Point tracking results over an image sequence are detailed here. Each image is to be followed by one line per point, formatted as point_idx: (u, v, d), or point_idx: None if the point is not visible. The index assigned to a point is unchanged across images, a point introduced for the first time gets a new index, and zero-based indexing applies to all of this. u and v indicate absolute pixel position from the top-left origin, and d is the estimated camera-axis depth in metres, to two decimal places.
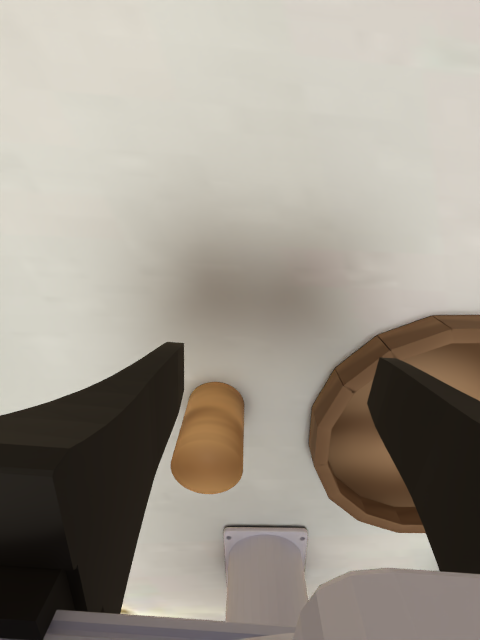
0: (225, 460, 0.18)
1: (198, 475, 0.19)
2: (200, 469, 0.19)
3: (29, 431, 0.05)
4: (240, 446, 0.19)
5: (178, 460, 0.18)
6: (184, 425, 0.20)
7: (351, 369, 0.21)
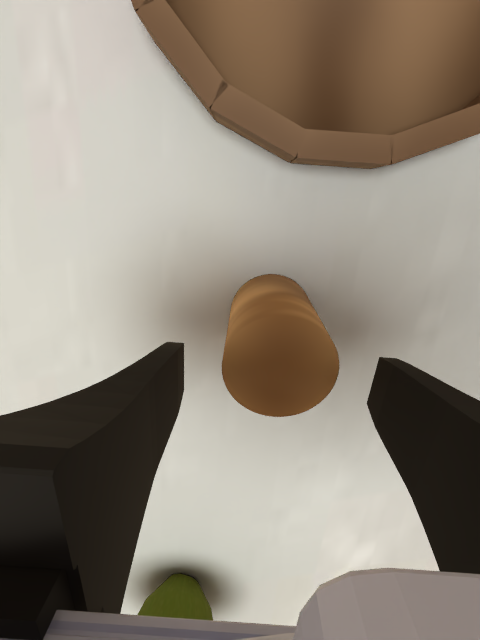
0: (266, 340, 0.11)
1: (293, 383, 0.12)
2: (280, 379, 0.12)
3: (28, 431, 0.05)
4: (262, 308, 0.12)
5: (258, 405, 0.12)
6: None
7: (194, 90, 0.12)
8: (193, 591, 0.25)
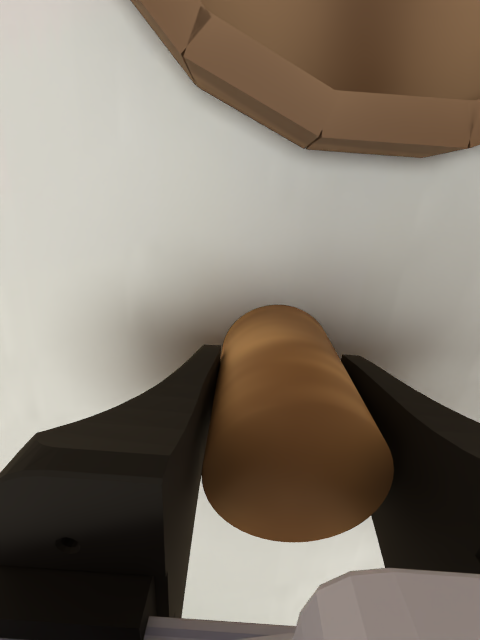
0: (274, 439, 0.07)
1: (317, 499, 0.07)
2: (296, 493, 0.07)
3: (117, 438, 0.05)
4: (267, 380, 0.07)
5: (260, 527, 0.08)
6: None
7: (159, 31, 0.08)
8: None
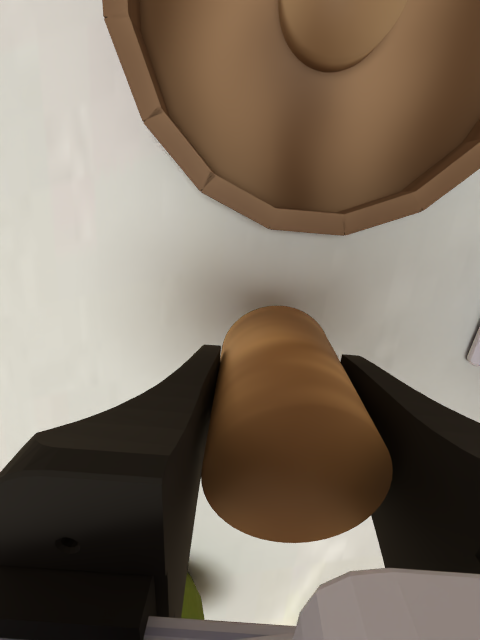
0: (274, 441, 0.07)
1: (316, 500, 0.07)
2: (295, 494, 0.07)
3: (116, 438, 0.05)
4: (266, 382, 0.07)
5: (259, 528, 0.08)
6: None
7: None
8: None
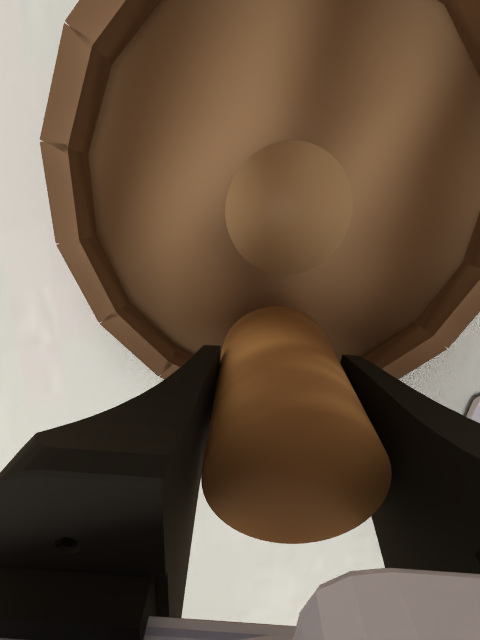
0: (275, 444, 0.07)
1: (315, 503, 0.07)
2: (294, 496, 0.07)
3: (116, 437, 0.05)
4: (267, 386, 0.07)
5: (258, 529, 0.08)
6: None
7: None
8: None
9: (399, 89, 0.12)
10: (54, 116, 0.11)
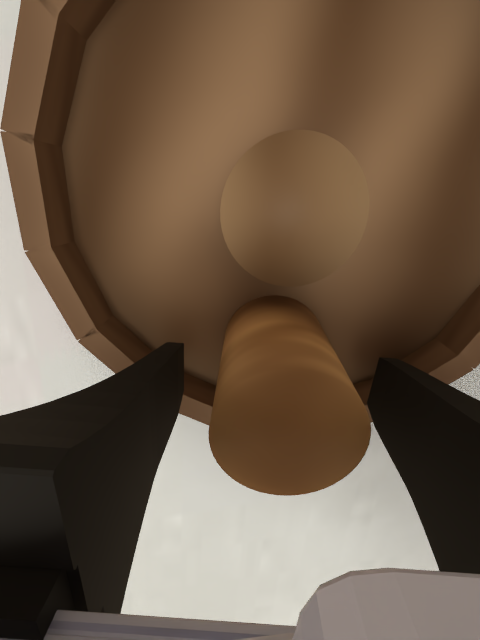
0: (271, 401, 0.08)
1: (306, 455, 0.09)
2: (289, 450, 0.09)
3: (29, 431, 0.05)
4: (265, 353, 0.08)
5: (257, 481, 0.09)
6: None
7: None
8: None
9: (424, 70, 0.10)
10: (16, 101, 0.09)
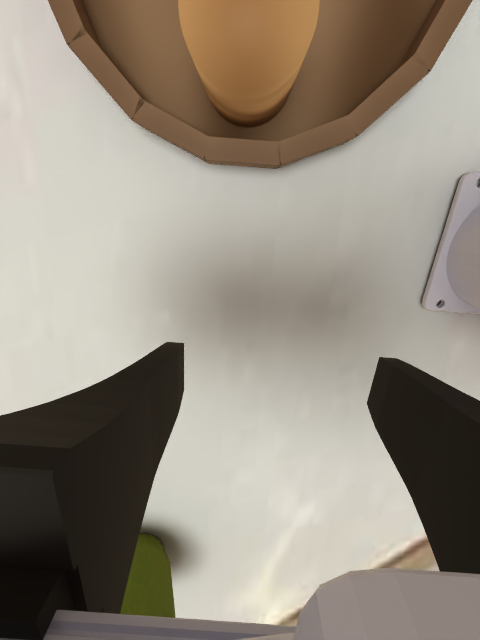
0: None
1: (264, 31, 0.10)
2: (249, 24, 0.10)
3: (29, 432, 0.05)
4: None
5: (223, 72, 0.10)
6: (207, 88, 0.12)
7: None
8: (153, 546, 0.28)
9: None
10: None
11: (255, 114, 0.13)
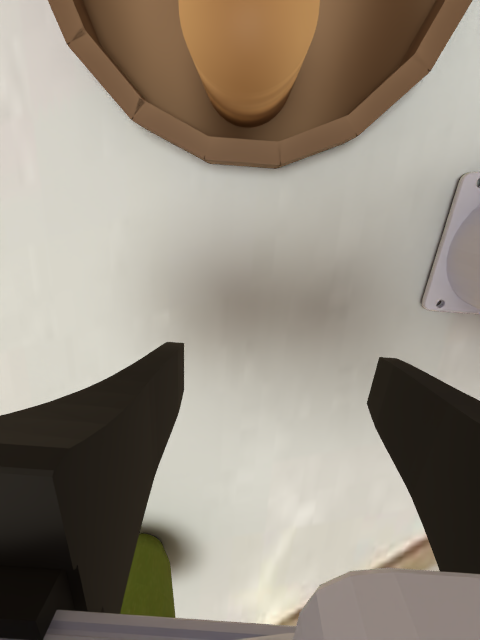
0: None
1: (264, 31, 0.10)
2: (249, 25, 0.10)
3: (29, 431, 0.05)
4: None
5: (223, 72, 0.10)
6: (208, 88, 0.12)
7: None
8: (153, 546, 0.28)
9: None
10: None
11: (255, 114, 0.13)
